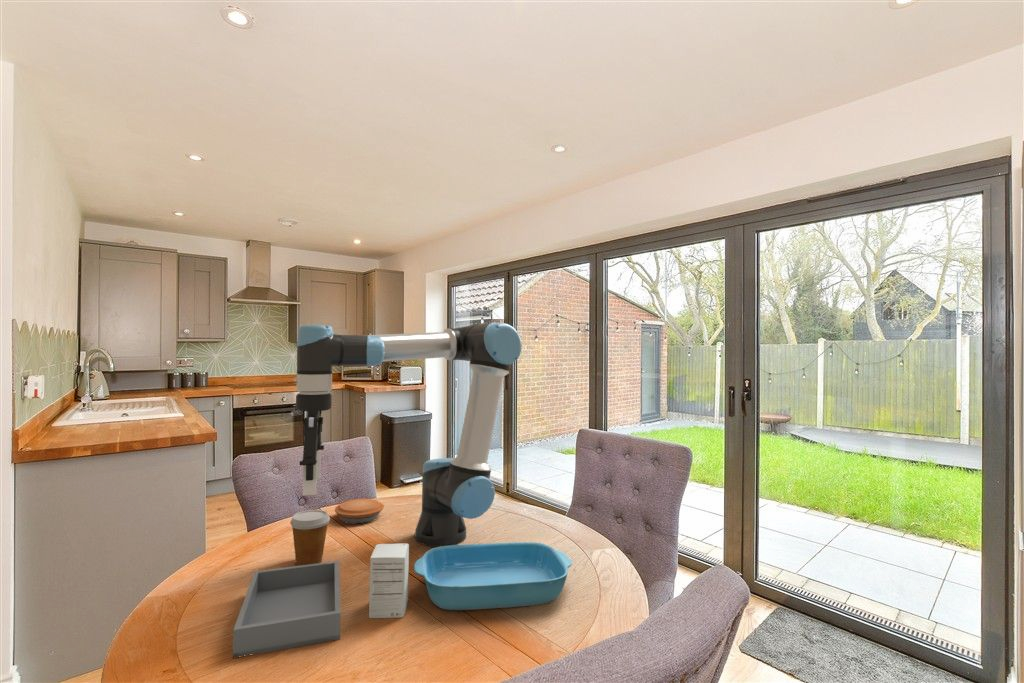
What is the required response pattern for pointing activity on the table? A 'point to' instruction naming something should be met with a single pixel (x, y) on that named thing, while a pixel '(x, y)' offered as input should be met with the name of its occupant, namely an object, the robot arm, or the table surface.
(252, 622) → the bin
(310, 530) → the disposable coffee cup
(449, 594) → the casserole dish
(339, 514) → the pie
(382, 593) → the supplement box
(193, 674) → the table surface
